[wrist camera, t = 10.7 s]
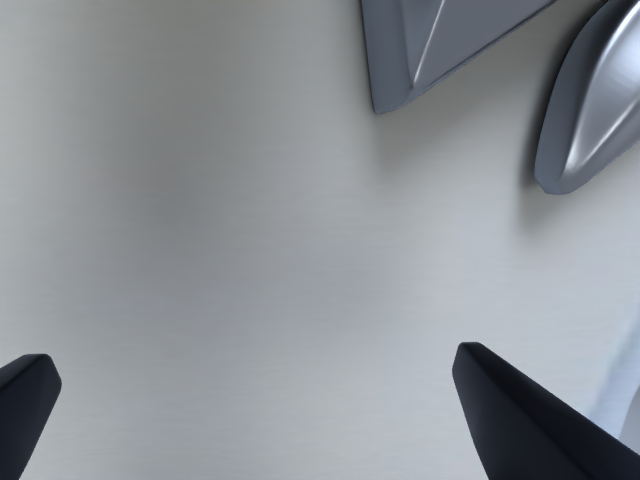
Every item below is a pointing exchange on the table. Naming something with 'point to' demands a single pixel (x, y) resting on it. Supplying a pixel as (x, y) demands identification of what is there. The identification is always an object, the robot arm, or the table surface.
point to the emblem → (569, 90)
